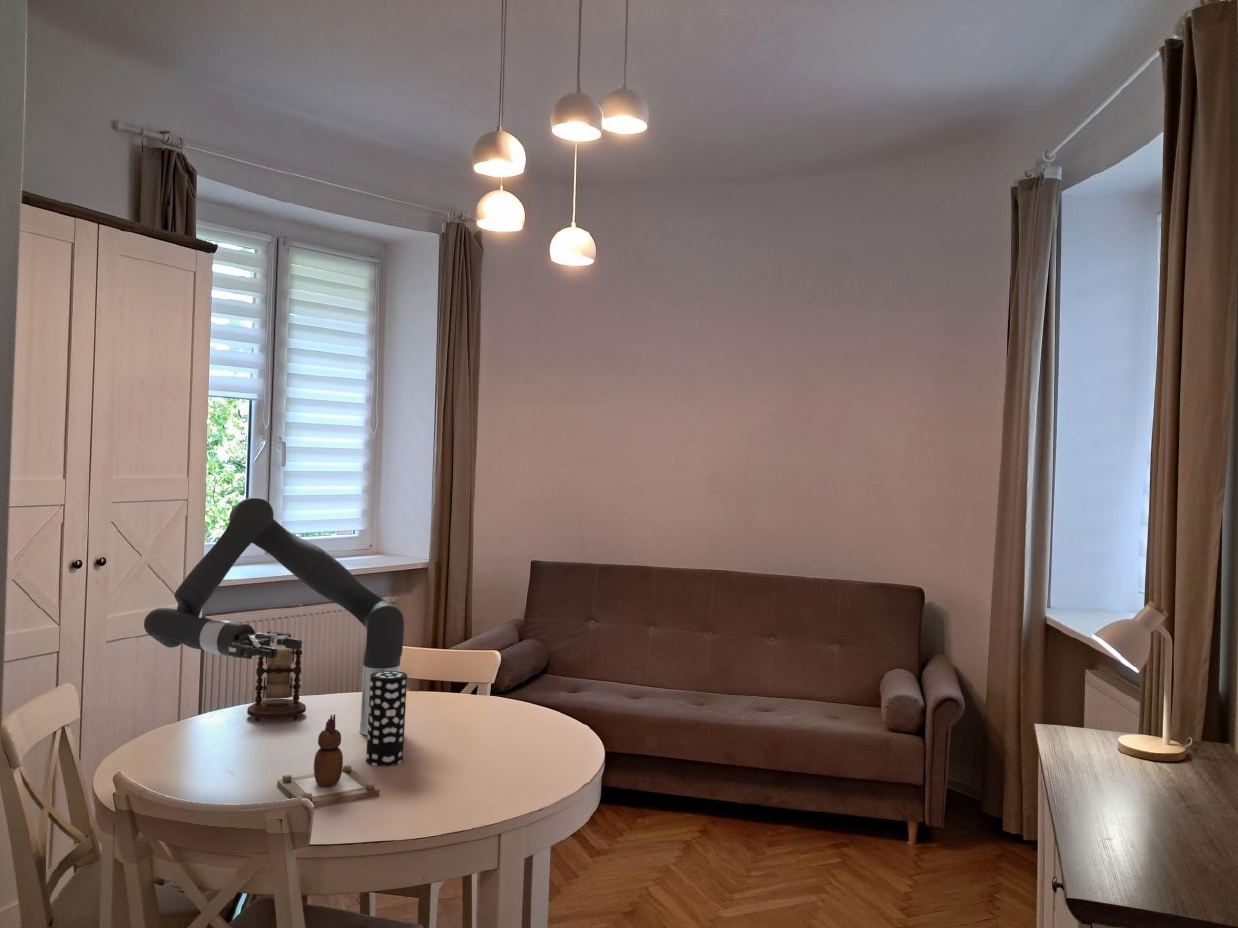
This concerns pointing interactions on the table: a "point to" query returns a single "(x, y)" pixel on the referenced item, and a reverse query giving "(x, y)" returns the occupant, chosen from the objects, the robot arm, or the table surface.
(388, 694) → the spotted tube
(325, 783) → the wooden figurine
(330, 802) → the base plate
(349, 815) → the table surface
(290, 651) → the scroll
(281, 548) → the robot arm
